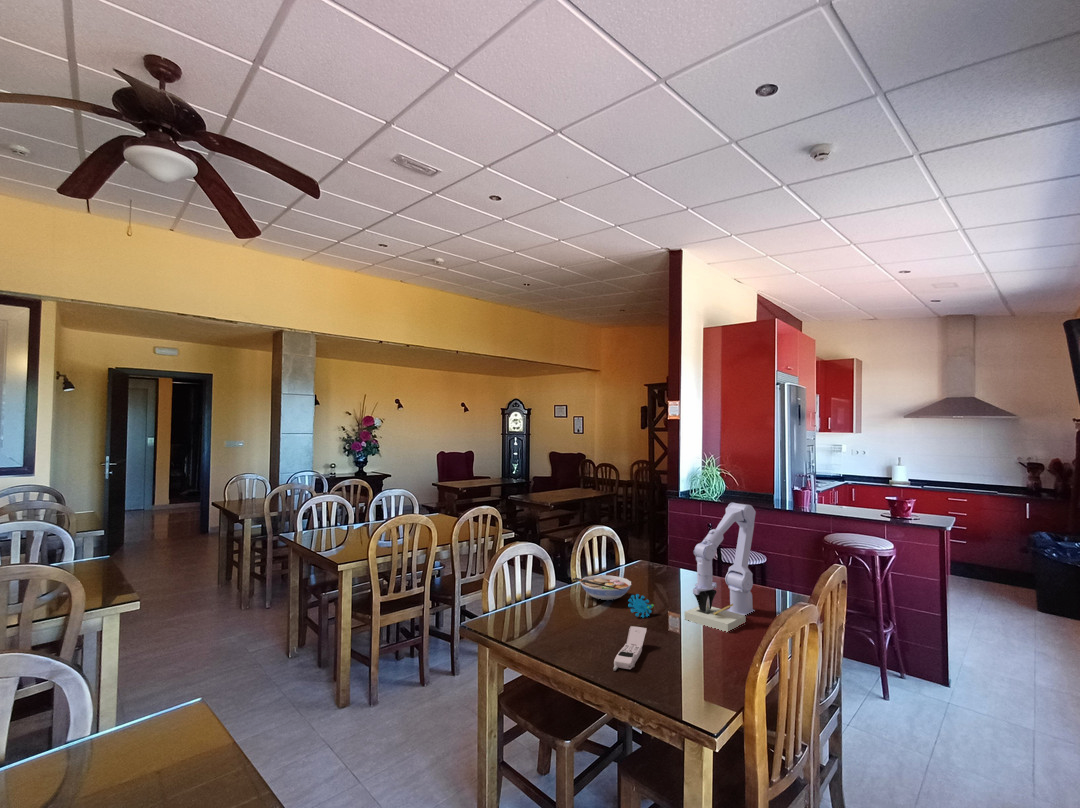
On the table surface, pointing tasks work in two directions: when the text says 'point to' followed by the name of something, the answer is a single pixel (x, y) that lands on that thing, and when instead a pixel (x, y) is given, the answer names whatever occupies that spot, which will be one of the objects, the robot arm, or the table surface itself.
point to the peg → (707, 606)
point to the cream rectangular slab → (716, 618)
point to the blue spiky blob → (640, 606)
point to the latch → (723, 609)
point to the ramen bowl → (605, 586)
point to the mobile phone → (630, 649)
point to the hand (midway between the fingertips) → (705, 609)
